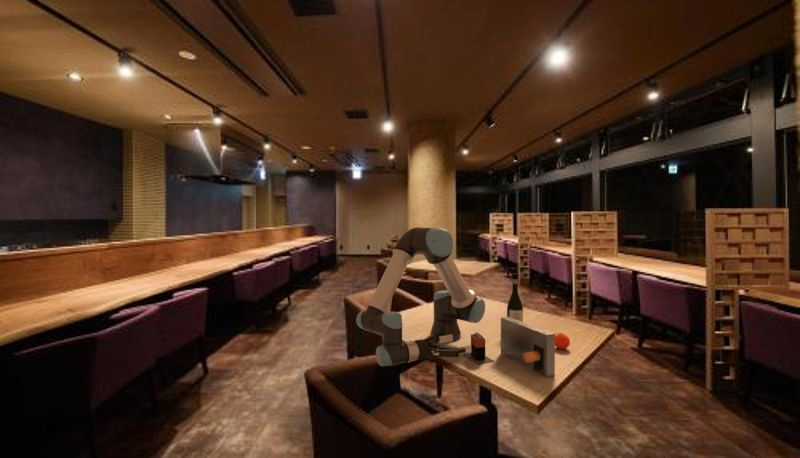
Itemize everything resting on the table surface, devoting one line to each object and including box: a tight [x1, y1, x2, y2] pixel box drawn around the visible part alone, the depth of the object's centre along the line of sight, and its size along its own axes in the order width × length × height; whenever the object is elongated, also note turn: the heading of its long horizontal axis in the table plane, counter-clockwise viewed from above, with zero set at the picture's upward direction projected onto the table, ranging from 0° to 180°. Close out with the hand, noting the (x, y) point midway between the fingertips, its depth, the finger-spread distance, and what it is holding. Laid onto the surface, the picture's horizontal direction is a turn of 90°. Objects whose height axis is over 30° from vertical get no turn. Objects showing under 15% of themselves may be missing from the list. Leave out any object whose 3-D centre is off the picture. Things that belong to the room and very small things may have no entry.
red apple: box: [555, 332, 571, 350], centre depth 165 cm, size 8×7×7 cm
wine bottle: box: [506, 272, 524, 322], centre depth 192 cm, size 8×8×30 cm
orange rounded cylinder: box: [523, 351, 540, 363], centre depth 137 cm, size 4×5×4 cm
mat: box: [462, 352, 494, 366], centre depth 154 cm, size 11×8×1 cm
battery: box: [470, 331, 486, 361], centre depth 154 cm, size 4×7×10 cm, turn 7°
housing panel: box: [500, 316, 556, 379], centre depth 148 cm, size 26×4×16 cm, turn 24°
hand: (461, 342), depth 151 cm, fingers open, 13 cm apart
